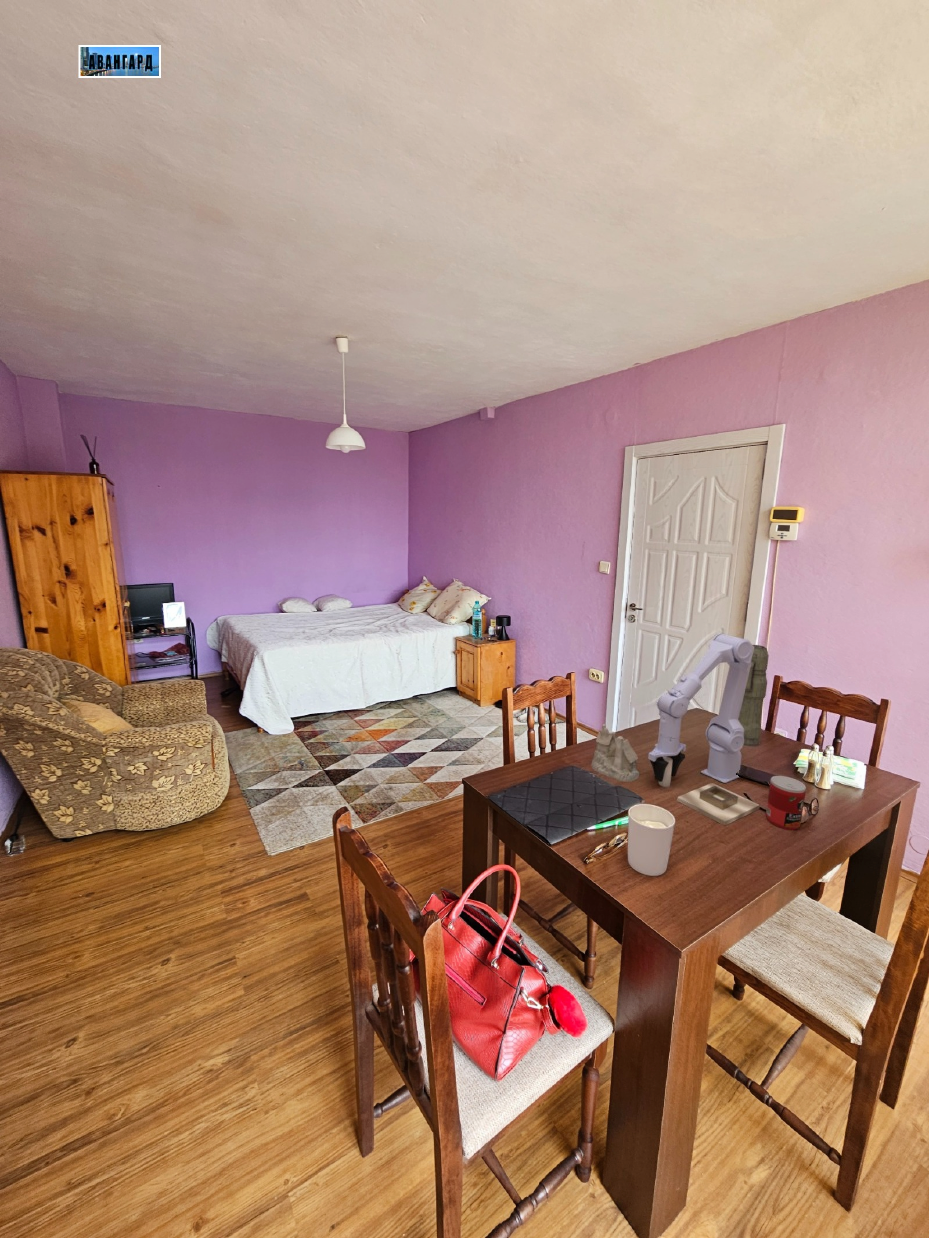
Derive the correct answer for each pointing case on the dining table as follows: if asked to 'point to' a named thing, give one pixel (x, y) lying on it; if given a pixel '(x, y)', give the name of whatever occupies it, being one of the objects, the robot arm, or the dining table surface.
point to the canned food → (785, 802)
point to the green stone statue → (754, 697)
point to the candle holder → (649, 838)
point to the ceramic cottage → (614, 757)
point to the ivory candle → (667, 773)
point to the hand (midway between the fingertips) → (664, 777)
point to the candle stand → (718, 803)
